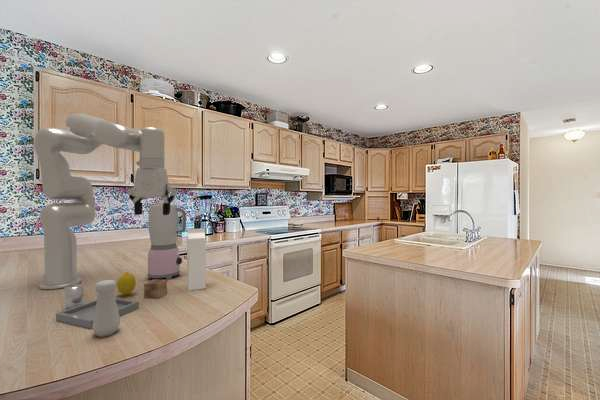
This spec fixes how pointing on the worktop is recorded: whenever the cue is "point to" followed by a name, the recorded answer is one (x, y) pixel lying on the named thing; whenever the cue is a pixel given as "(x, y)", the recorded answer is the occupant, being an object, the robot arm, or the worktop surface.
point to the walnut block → (155, 289)
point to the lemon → (126, 283)
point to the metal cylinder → (73, 296)
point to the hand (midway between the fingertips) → (152, 214)
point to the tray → (92, 312)
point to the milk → (196, 259)
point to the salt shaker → (106, 309)
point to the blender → (164, 241)
